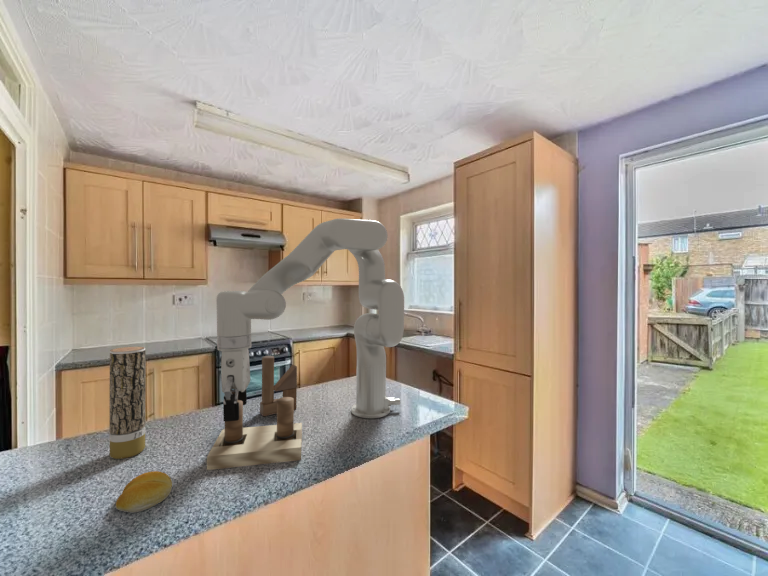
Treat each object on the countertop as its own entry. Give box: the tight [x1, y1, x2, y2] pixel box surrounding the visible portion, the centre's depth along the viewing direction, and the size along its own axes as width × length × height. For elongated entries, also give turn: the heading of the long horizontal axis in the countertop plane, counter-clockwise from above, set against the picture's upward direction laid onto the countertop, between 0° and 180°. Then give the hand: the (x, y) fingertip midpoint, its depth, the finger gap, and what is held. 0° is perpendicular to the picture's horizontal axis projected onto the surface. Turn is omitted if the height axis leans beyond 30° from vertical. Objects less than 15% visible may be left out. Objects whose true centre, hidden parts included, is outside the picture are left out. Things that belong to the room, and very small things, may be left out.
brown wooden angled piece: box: [259, 355, 298, 417], centre depth 107 cm, size 4×11×18 cm, turn 126°
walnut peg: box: [224, 400, 244, 446], centre depth 80 cm, size 4×4×12 cm
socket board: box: [206, 422, 303, 471], centre depth 82 cm, size 20×14×3 cm
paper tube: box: [108, 346, 147, 460], centre depth 80 cm, size 7×7×25 cm
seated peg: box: [276, 396, 295, 441], centre depth 83 cm, size 4×4×12 cm
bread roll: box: [115, 470, 173, 514], centre depth 63 cm, size 8×9×4 cm
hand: (235, 412), depth 81 cm, fingers open, 9 cm apart
